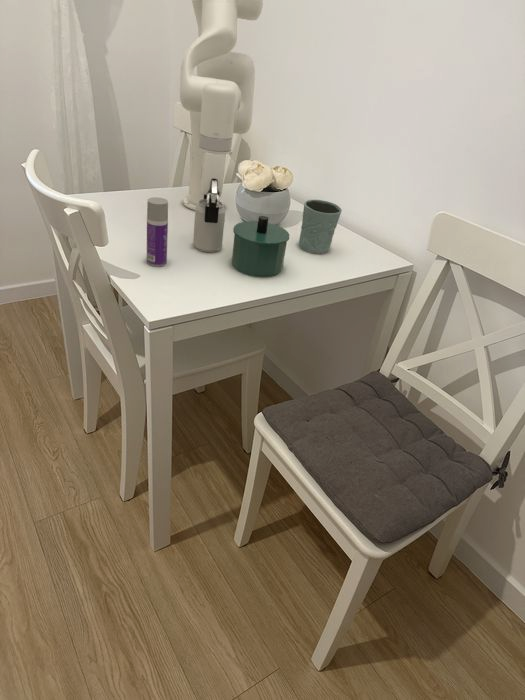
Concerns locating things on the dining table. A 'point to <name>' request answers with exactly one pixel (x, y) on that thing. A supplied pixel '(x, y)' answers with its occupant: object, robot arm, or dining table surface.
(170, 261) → the dining table surface
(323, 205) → the green textured cup
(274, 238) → the pot lid
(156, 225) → the container
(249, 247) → the pot
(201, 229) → the can
